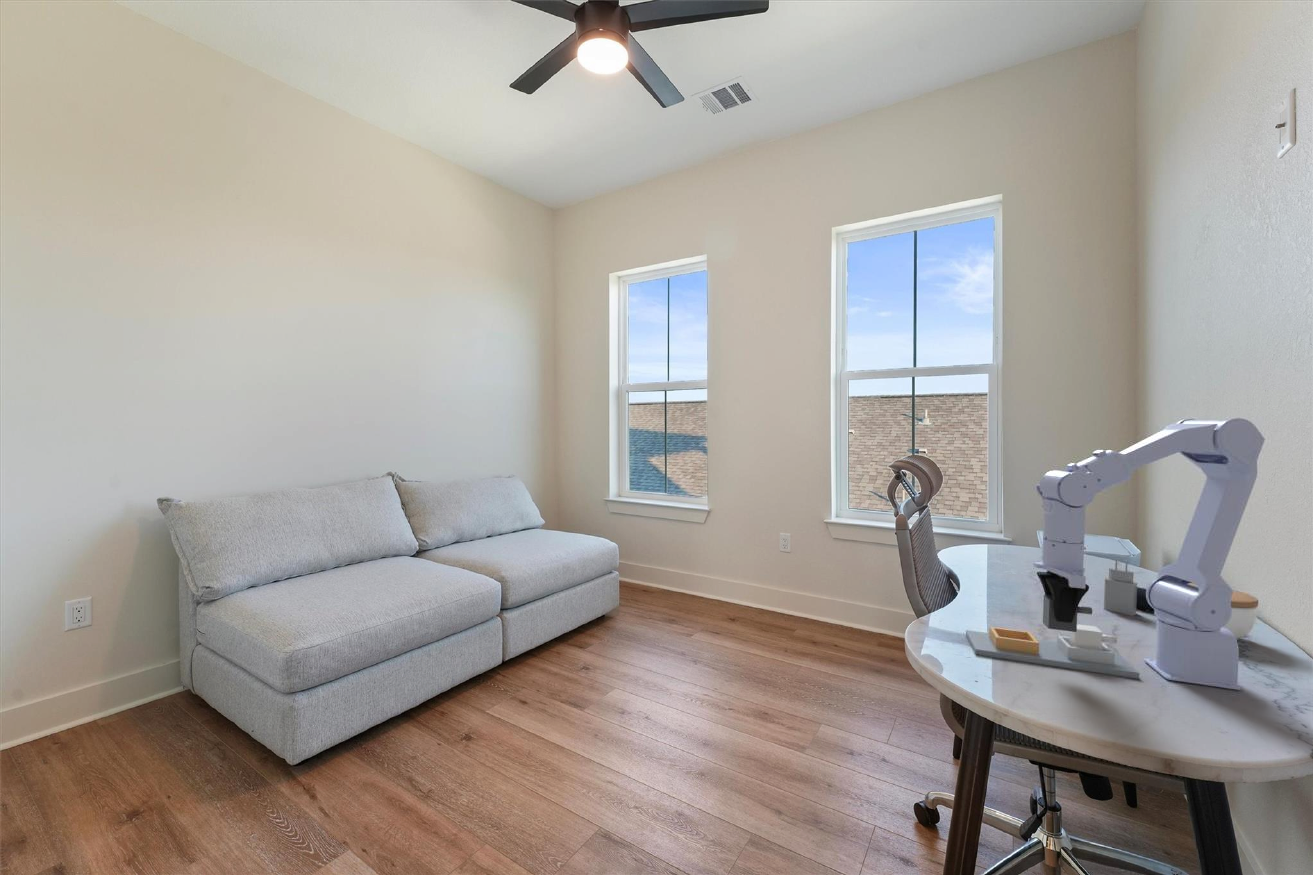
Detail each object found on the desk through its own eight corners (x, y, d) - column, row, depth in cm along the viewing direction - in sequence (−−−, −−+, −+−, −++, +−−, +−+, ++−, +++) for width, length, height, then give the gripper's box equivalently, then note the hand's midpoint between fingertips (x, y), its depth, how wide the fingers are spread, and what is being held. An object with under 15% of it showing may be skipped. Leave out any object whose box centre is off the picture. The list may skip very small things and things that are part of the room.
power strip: (1113, 655, 99) (1114, 623, 99) (1139, 678, 90) (1140, 643, 90) (965, 634, 108) (966, 605, 108) (975, 654, 99) (976, 622, 98)
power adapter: (1132, 616, 121) (1134, 563, 120) (1102, 609, 125) (1104, 558, 125) (1137, 613, 122) (1138, 561, 122) (1107, 606, 127) (1108, 556, 127)
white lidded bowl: (1243, 653, 101) (1246, 595, 101) (1157, 630, 112) (1159, 578, 112) (1266, 641, 107) (1268, 586, 107) (1181, 620, 118) (1183, 571, 118)
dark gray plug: (1086, 628, 93) (1087, 599, 93) (1093, 634, 90) (1094, 604, 90) (1042, 622, 95) (1043, 594, 95) (1048, 628, 92) (1049, 599, 92)
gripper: (1023, 530, 101) (1021, 602, 101) (1049, 546, 87) (1046, 629, 88) (1068, 534, 98) (1066, 607, 99) (1102, 550, 85) (1099, 635, 85)
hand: (1060, 617), depth 93 cm, fingers closed on dark gray plug, 3 cm apart
